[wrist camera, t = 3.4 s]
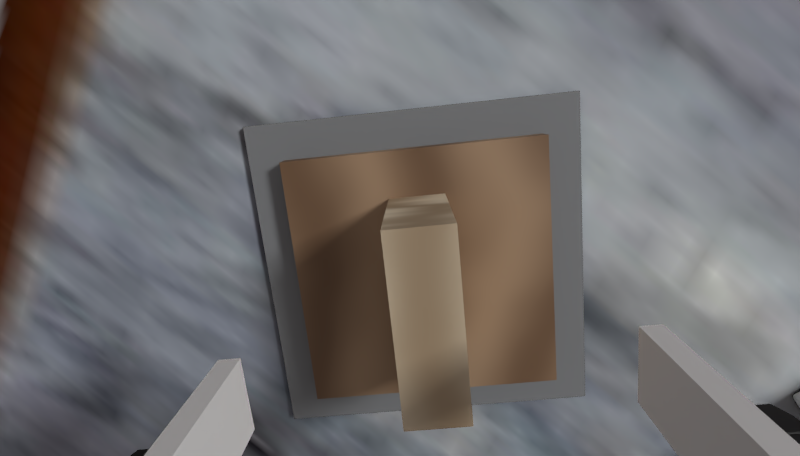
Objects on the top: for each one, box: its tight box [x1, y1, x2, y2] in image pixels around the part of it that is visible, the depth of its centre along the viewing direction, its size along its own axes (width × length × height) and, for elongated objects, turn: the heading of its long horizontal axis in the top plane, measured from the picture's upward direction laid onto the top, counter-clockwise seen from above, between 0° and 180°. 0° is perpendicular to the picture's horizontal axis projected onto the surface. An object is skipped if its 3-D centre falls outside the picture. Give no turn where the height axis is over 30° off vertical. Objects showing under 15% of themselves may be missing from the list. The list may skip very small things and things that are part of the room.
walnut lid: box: [279, 133, 557, 431], centre depth 24 cm, size 14×14×8 cm
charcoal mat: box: [243, 91, 585, 419], centre depth 28 cm, size 18×18×1 cm
